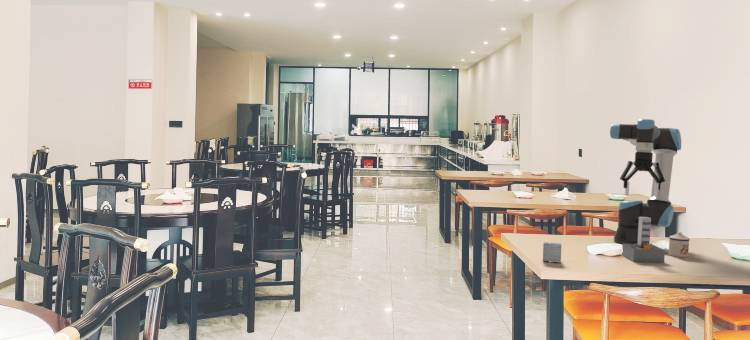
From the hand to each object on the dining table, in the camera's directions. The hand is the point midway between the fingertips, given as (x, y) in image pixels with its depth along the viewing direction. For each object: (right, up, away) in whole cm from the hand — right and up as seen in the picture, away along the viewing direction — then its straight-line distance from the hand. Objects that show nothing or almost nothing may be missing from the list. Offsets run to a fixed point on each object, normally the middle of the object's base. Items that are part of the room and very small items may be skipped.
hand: (641, 195), depth 282 cm
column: (0, -30, -2) cm, 30 cm away
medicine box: (-47, -30, -12) cm, 57 cm away
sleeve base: (0, -30, -2) cm, 30 cm away
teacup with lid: (+23, -30, +9) cm, 39 cm away
